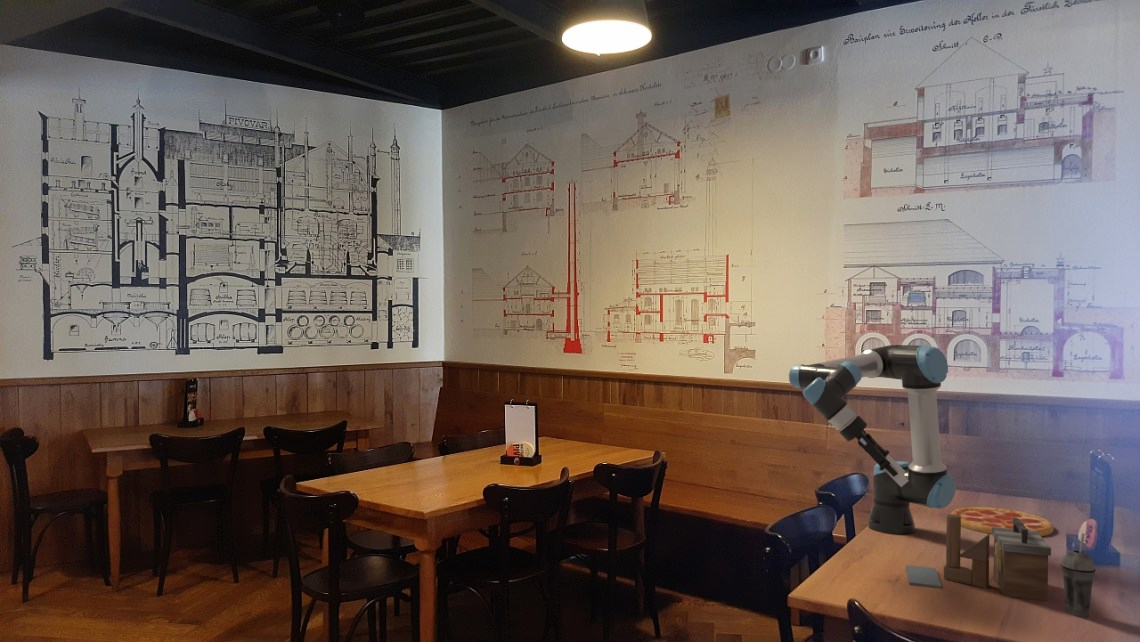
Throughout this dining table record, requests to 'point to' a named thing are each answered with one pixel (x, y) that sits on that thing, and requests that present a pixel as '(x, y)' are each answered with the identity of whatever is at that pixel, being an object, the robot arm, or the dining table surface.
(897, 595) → the dining table surface
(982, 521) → the pizza
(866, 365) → the robot arm
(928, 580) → the mat
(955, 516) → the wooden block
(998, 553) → the toolbox
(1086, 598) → the beverage cup
